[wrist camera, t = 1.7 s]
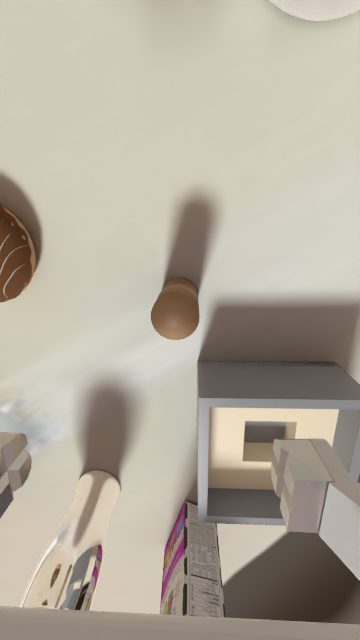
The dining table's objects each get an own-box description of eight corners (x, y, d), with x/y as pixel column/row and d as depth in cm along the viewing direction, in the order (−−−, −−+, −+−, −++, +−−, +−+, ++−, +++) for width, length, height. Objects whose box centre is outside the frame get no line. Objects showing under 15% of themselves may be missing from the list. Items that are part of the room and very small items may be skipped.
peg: (160, 277, 30) (149, 293, 22) (197, 277, 29) (199, 293, 22) (162, 313, 31) (152, 339, 23) (197, 313, 31) (199, 339, 23)
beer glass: (107, 460, 38) (54, 599, 24) (132, 495, 40) (98, 643, 25) (66, 476, 39) (-7, 618, 25) (92, 509, 41) (38, 659, 27)
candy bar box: (194, 556, 43) (195, 741, 27) (164, 548, 43) (147, 731, 27) (218, 507, 40) (234, 687, 24) (185, 498, 39) (179, 674, 24)
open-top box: (197, 361, 32) (198, 398, 25) (335, 362, 32) (376, 400, 25) (196, 467, 37) (197, 522, 30) (316, 470, 37) (346, 527, 29)
